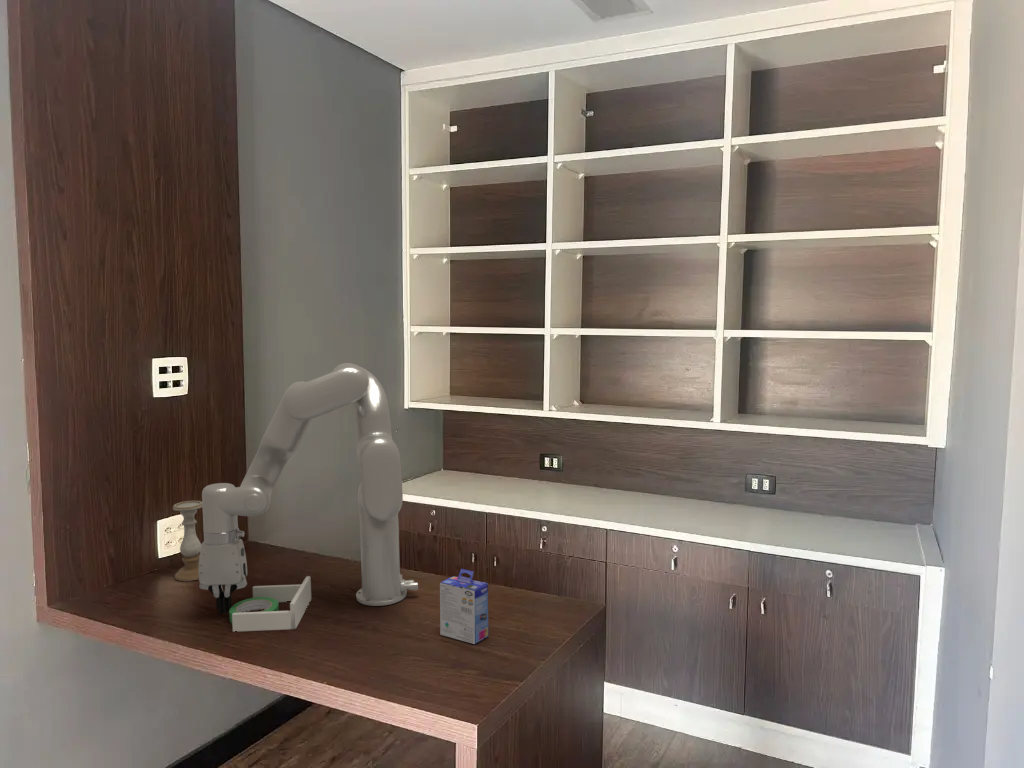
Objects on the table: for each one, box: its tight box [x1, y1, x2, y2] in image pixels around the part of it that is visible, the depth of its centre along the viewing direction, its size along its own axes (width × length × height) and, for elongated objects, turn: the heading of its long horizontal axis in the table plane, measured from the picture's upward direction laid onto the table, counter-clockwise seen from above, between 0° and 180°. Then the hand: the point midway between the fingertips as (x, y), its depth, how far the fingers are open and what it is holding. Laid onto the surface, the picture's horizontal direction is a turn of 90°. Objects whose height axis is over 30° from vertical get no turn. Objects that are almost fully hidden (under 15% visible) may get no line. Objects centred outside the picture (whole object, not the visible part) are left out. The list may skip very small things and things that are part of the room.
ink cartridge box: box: [439, 568, 489, 645], centre depth 158 cm, size 10×6×14 cm, turn 58°
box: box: [231, 575, 312, 632], centre depth 171 cm, size 14×17×6 cm
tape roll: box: [228, 597, 280, 624], centre depth 170 cm, size 11×11×3 cm
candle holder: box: [172, 500, 203, 582], centre depth 196 cm, size 9×9×20 cm
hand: (224, 611), depth 170 cm, fingers closed
